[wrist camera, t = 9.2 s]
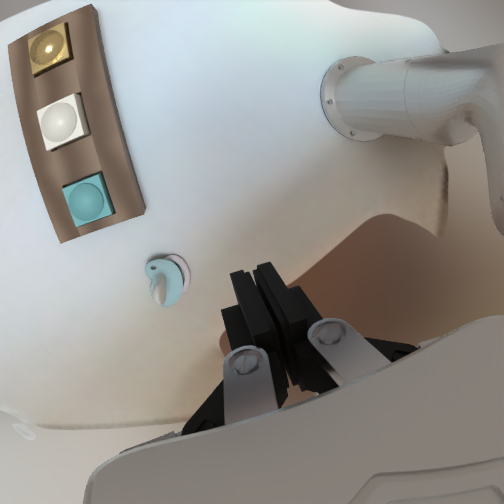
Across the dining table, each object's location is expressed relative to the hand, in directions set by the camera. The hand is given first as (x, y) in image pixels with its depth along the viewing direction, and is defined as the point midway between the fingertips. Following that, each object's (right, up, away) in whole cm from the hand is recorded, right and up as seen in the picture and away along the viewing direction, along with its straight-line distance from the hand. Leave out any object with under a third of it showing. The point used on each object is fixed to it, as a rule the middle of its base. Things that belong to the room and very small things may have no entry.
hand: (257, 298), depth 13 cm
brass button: (-24, +26, +14) cm, 38 cm away
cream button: (-22, +17, +17) cm, 33 cm away
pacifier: (-12, -1, +31) cm, 33 cm away
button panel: (-22, +18, +19) cm, 34 cm away
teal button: (-20, +9, +22) cm, 31 cm away
